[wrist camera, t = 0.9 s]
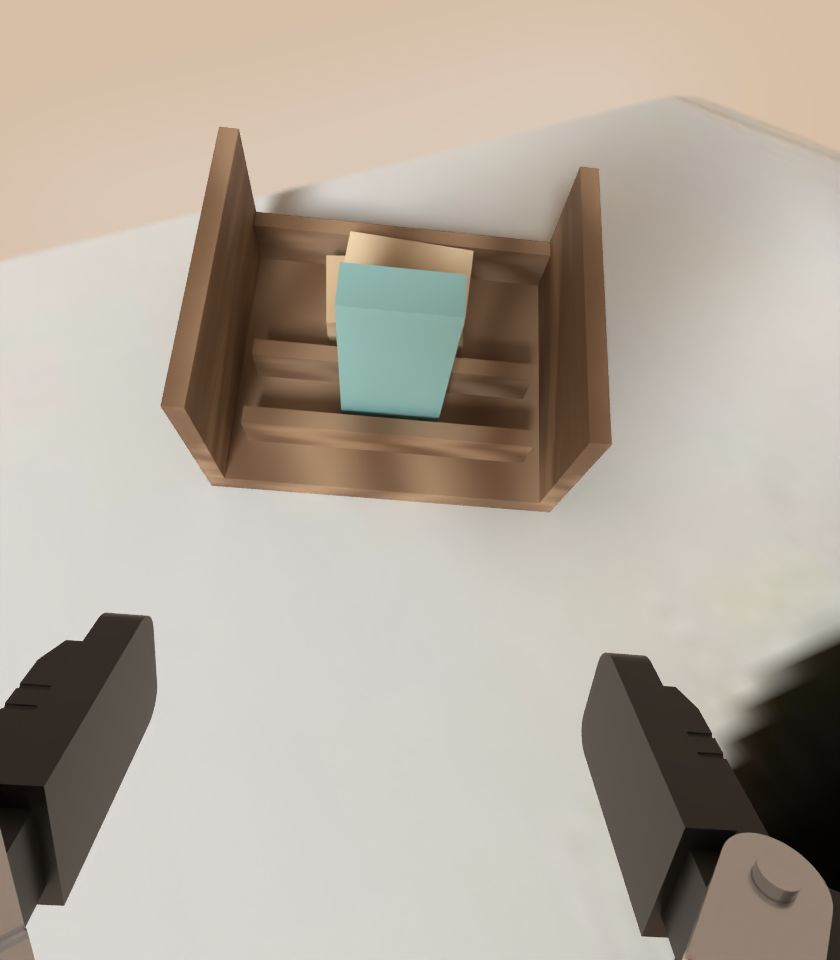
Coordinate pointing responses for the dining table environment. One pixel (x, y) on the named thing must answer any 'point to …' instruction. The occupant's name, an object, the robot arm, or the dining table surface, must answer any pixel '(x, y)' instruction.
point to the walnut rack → (315, 371)
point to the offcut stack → (394, 265)
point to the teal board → (397, 339)
